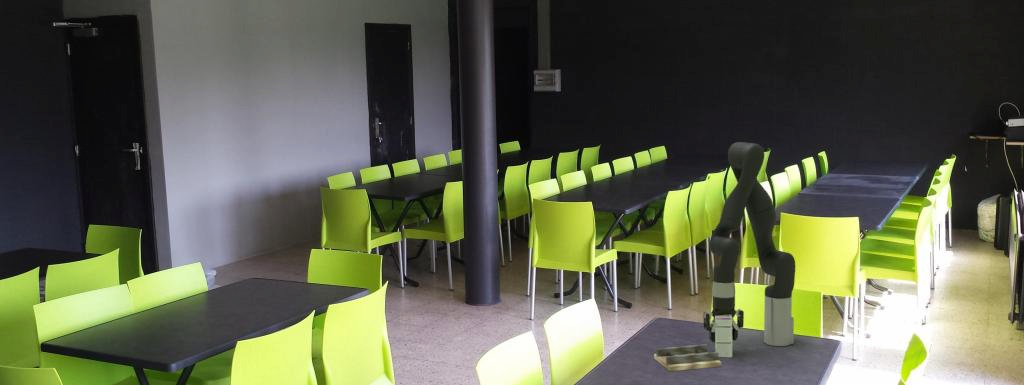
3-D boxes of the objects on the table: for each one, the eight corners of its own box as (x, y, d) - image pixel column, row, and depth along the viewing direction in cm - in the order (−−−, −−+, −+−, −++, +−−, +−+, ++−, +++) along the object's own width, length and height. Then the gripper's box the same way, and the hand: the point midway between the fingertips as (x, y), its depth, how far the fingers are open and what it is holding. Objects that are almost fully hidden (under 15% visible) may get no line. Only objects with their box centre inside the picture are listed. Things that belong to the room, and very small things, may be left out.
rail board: (703, 353, 308) (703, 342, 308) (721, 366, 294) (721, 354, 294) (654, 358, 304) (654, 346, 304) (669, 371, 291) (669, 359, 290)
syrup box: (732, 357, 303) (732, 316, 301) (714, 357, 304) (714, 315, 302) (731, 352, 308) (732, 311, 307) (714, 351, 310) (714, 311, 308)
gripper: (738, 290, 309) (737, 336, 311) (699, 293, 306) (699, 339, 308) (748, 295, 301) (747, 342, 303) (708, 298, 298) (708, 346, 301)
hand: (723, 340), depth 306 cm, fingers closed on syrup box, 7 cm apart
